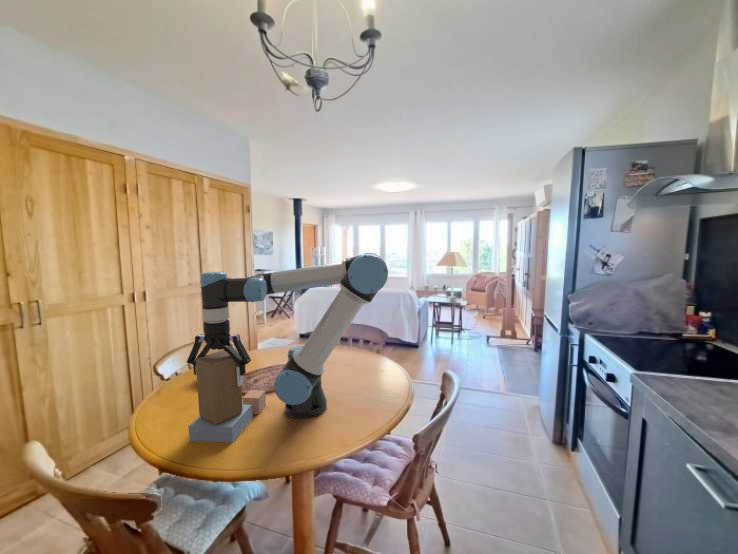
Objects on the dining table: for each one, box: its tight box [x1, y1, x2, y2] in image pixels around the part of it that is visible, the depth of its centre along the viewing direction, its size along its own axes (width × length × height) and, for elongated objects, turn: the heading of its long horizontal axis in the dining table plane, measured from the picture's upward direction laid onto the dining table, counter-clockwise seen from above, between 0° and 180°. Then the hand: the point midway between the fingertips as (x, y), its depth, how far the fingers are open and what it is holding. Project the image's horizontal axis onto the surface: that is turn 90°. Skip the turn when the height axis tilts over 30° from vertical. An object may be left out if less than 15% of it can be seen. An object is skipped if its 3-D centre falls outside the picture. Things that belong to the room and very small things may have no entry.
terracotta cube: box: [242, 389, 267, 415], centre depth 119 cm, size 6×6×6 cm
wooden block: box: [195, 350, 243, 425], centre depth 105 cm, size 10×10×20 cm
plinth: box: [188, 403, 254, 444], centre depth 106 cm, size 14×14×5 cm
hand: (220, 384), depth 105 cm, fingers open, 13 cm apart
